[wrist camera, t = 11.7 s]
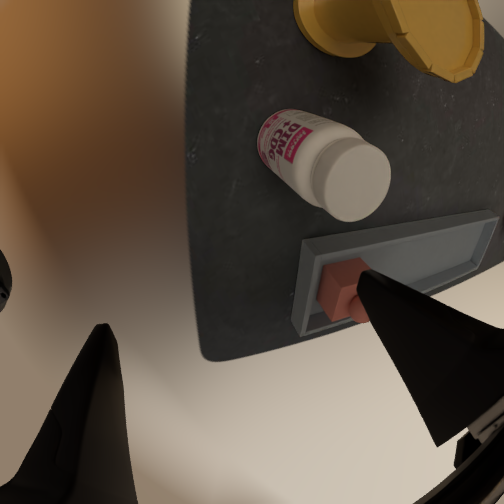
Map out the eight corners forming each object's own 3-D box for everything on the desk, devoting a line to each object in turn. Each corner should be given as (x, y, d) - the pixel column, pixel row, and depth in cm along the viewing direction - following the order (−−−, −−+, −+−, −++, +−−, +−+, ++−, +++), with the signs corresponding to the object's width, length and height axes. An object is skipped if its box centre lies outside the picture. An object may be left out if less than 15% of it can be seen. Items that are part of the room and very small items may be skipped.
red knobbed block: (315, 299, 29) (344, 341, 24) (322, 264, 26) (357, 307, 22) (350, 289, 30) (380, 327, 25) (360, 256, 27) (395, 294, 23)
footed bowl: (281, 55, 15) (383, 52, 8) (286, -43, 11) (378, -92, 3) (376, 74, 18) (480, 98, 10) (381, -12, 13) (481, -17, 5)
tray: (290, 320, 30) (299, 337, 28) (301, 239, 24) (315, 255, 22) (468, 260, 39) (477, 268, 37) (488, 208, 33) (499, 216, 31)
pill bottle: (256, 107, 17) (325, 131, 10) (320, 110, 18) (405, 140, 12) (253, 174, 20) (311, 234, 13) (313, 171, 21) (385, 224, 14)
